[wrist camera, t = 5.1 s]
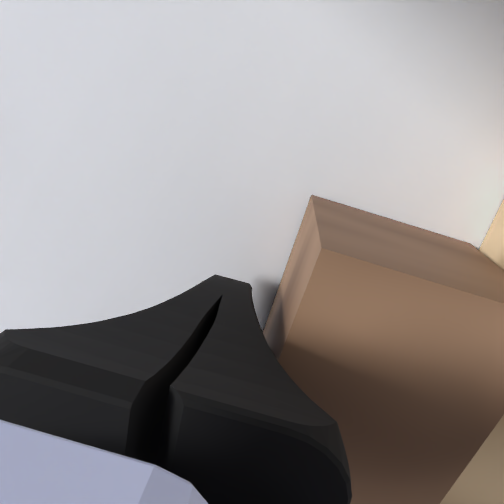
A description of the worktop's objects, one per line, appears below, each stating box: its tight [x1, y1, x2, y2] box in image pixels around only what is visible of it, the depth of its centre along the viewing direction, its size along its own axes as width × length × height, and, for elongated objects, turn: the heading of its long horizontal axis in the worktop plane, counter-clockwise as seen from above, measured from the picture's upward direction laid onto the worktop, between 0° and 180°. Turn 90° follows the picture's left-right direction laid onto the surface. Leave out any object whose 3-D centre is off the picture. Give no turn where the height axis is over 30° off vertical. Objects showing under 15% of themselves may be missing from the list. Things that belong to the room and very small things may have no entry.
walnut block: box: [263, 195, 504, 504], centre depth 11 cm, size 8×5×4 cm, turn 164°
